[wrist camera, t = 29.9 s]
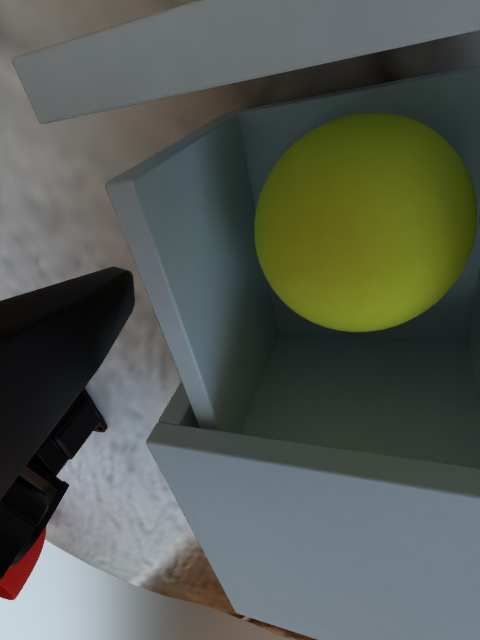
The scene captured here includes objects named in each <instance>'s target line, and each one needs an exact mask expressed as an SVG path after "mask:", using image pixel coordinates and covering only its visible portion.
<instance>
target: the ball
mask: <svg viewBox="0 0 480 640" xmlns="http://www.w3.org/2000/svg"><path fill="white" fill-rule="evenodd" d="M477 221H478V209H477V197H476V193H475V188H474V184H473V182H472V179H471V176H470V173H469V171H468V170H467V168H466V166H465V164H464V162H463V160H462V159H461V158H460V156H459V155H458V153H457V152H456V151H455V149H454V148H453V147H452V146H451V145H450V144H449V143H448V142H447V141H446V140H445V139H444V138H443V137H442V136H440V135H439V134H438V133H437V132H435V131H434V130H432V129H431V128H429V127H427V126H426V125H424V124H422V123H420V122H417V121H415V120H413V119H410V118H407V117H403V116H400V115H394V114H389V113H358V114H353V115H347V116H343V117H340V118H337V119H334V120H331V121H329V122H327V123H325V124H322V125H320V126H318V127H317V128H315V129H313V130H312V131H310V132H308V133H307V134H305V135H304V136H303V137H301V138H300V139H299V140H297V141H296V142H295V143H294V144H293V145H292V146H291V147H290V148H289V149H288V150H287V151H286V152H285V153H284V154H283V155H282V156H281V158H280V159H279V160H278V162H277V163H276V164H275V166H274V167H273V169H272V170H271V172H270V174H269V176H268V177H267V179H266V182H265V184H264V186H263V189H262V191H261V194H260V196H259V200H258V204H257V208H256V214H255V224H254V234H255V246H256V252H257V256H258V259H259V263H260V265H261V268H262V270H263V272H264V275H265V277H266V279H267V280H268V282H269V284H270V285H271V287H272V289H273V290H274V291H275V293H276V294H277V295H278V296H279V298H280V299H281V300H282V301H283V302H284V303H285V304H286V305H287V306H289V307H290V308H291V309H292V310H293V311H295V312H296V313H298V314H299V315H300V316H302V317H304V318H306V319H307V320H309V321H311V322H313V323H316V324H318V325H321V326H323V327H327V328H331V329H335V330H339V331H348V332H369V331H377V330H383V329H387V328H390V327H394V326H397V325H399V324H402V323H404V322H407V321H409V320H411V319H413V318H415V317H416V316H418V315H420V314H421V313H423V312H425V311H426V310H428V309H429V308H430V307H432V306H433V305H434V304H435V303H437V302H438V301H439V300H440V299H441V298H442V297H443V296H444V295H445V294H446V293H447V292H448V290H449V289H450V288H451V287H452V286H453V284H454V283H455V282H456V280H457V279H458V278H459V276H460V275H461V273H462V271H463V269H464V267H465V265H466V264H467V261H468V259H469V256H470V253H471V251H472V248H473V245H474V241H475V237H476V232H477Z"/></svg>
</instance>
